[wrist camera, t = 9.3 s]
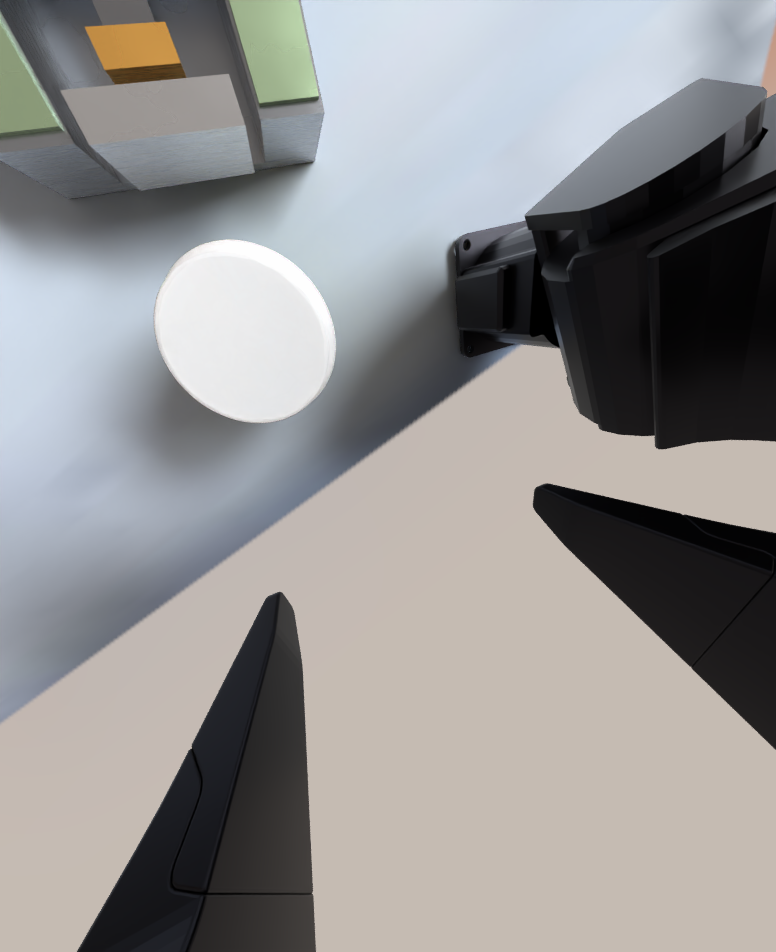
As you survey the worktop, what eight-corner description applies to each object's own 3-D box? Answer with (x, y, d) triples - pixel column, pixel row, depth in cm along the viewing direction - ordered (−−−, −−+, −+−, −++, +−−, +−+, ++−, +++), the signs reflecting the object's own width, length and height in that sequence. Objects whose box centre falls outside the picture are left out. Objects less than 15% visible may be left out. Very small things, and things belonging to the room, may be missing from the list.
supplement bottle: (303, 396, 17) (321, 466, 9) (200, 364, 15) (102, 418, 7) (328, 303, 15) (381, 285, 7) (216, 247, 13) (106, 127, 5)
